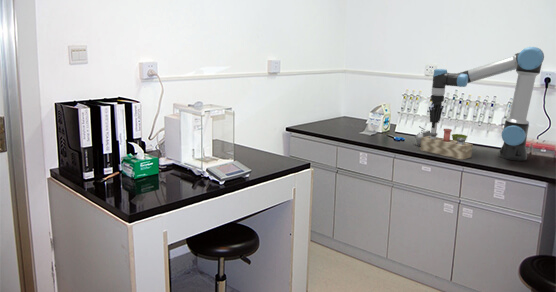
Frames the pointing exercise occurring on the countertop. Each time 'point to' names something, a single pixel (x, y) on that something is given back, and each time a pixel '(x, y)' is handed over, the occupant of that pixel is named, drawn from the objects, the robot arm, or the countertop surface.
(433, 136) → the plug far
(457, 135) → the plant pot
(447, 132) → the red plug
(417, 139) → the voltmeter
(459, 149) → the block
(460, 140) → the plug near
